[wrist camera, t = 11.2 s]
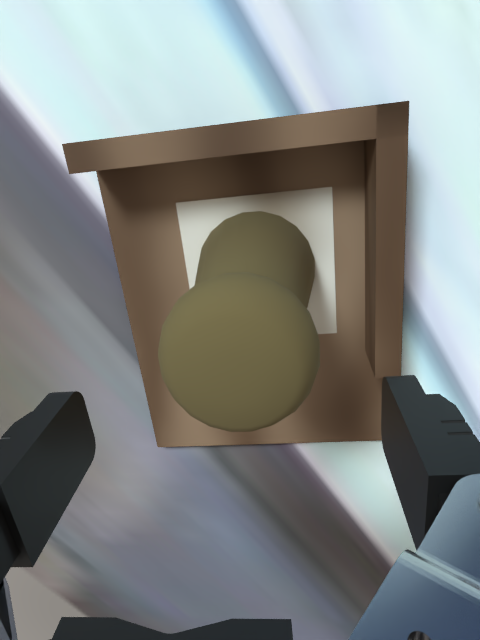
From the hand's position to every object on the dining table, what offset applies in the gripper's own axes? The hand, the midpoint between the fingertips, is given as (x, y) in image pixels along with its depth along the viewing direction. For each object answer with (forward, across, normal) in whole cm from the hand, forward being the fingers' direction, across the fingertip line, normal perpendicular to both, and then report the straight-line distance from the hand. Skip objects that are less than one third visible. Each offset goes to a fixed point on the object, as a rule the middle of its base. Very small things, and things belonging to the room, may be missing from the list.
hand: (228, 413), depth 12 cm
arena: (+13, 0, +2) cm, 13 cm away
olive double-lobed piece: (+12, 0, 0) cm, 12 cm away
